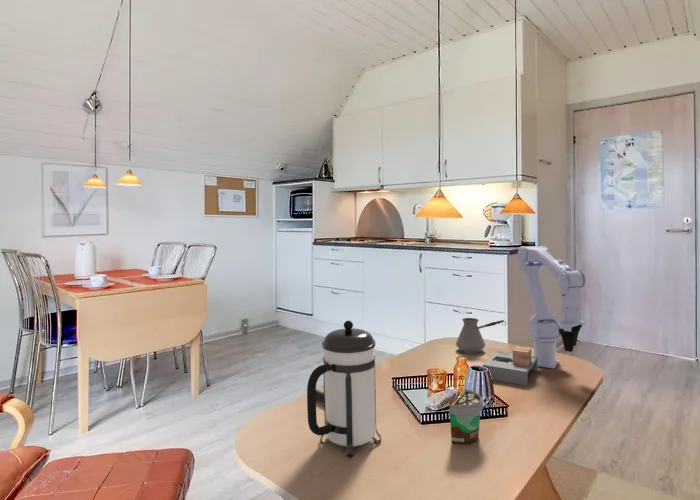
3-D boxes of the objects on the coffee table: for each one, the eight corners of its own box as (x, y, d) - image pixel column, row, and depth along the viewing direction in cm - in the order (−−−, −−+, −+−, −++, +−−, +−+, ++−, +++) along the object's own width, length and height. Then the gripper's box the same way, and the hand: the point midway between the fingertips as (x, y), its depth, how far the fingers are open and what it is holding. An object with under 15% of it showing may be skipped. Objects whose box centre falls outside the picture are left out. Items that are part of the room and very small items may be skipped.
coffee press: (321, 426, 118) (318, 314, 116) (382, 428, 116) (380, 314, 114) (308, 462, 101) (304, 330, 99) (379, 465, 99) (377, 331, 97)
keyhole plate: (497, 363, 167) (497, 351, 166) (537, 369, 159) (537, 356, 159) (482, 377, 152) (482, 364, 151) (526, 385, 144) (526, 371, 144)
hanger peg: (516, 367, 157) (516, 346, 156) (531, 370, 154) (531, 348, 153) (512, 371, 153) (512, 350, 152) (528, 374, 150) (528, 352, 149)
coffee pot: (450, 350, 184) (449, 314, 183) (467, 345, 191) (467, 310, 190) (496, 362, 167) (496, 322, 166) (513, 356, 174) (513, 318, 173)
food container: (475, 452, 104) (475, 410, 103) (449, 446, 107) (449, 405, 106) (489, 430, 114) (489, 392, 113) (465, 425, 117) (465, 388, 117)
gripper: (581, 312, 139) (581, 355, 140) (587, 304, 151) (586, 344, 152) (557, 310, 143) (556, 352, 144) (564, 303, 155) (563, 341, 156)
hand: (570, 348), depth 148 cm, fingers open, 7 cm apart
